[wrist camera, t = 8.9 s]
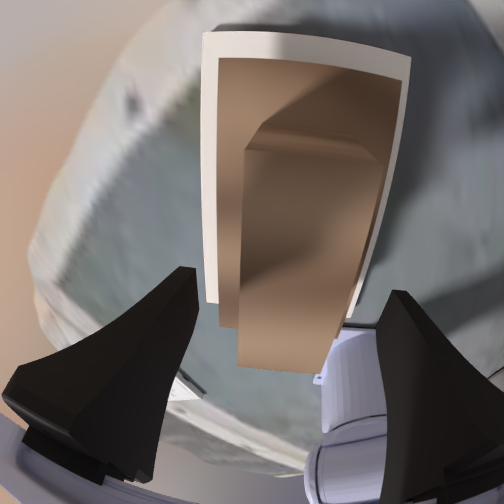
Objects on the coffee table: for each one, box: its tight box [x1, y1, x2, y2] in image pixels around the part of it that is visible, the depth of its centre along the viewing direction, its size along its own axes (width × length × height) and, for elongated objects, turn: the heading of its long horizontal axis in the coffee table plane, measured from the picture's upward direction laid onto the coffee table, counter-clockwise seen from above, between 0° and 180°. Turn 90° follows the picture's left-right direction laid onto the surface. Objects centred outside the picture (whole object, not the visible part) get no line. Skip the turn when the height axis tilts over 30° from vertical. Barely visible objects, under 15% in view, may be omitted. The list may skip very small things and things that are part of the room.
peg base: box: [201, 31, 411, 318], centre depth 17 cm, size 20×12×4 cm, turn 177°
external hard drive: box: [168, 371, 204, 401], centre depth 36 cm, size 2×8×12 cm
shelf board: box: [216, 58, 402, 374], centre depth 13 cm, size 16×8×6 cm, turn 177°
